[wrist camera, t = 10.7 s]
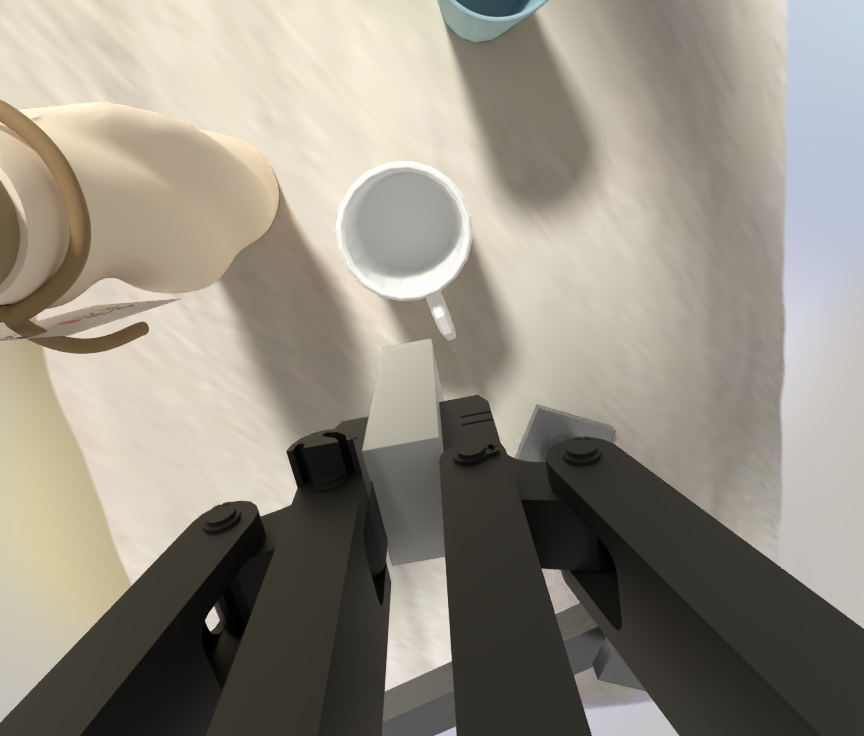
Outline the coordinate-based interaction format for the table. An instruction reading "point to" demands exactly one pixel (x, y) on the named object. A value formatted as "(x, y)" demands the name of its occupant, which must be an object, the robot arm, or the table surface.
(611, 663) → the post
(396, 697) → the bar
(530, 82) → the table surface
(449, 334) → the mug
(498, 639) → the robot arm
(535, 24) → the table surface
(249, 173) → the water bottle
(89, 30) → the table surface
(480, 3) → the cup
